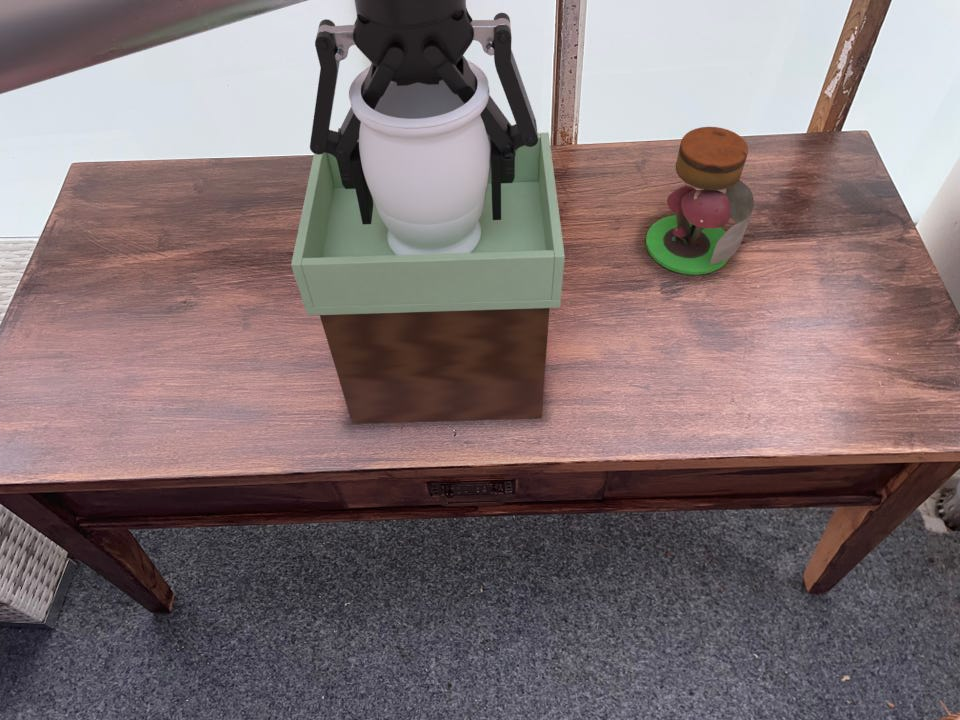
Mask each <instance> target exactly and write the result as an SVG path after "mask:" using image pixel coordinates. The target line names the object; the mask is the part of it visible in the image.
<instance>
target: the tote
mask: <svg viewBox="0 0 960 720" xmlns="http://www.w3.org/2000/svg"><path fill="white" fill-rule="evenodd" d="M537 133H538V143H537V144H536V145H535V146H533V147H527V146H522V147H520V148H518V149H517V150H516V156H515V179H514V181H513V183H502V184H501V220H493V217H492V186H491V167H490V174H489V180H488V185H487V191H486V198H485V203H484V207H483V211H482V213H481V216H480V218H479V220H478V221H479V223H480V226H481V237H480V241H479V243H478V245H477V246H476V248H475V249H474V250H473V251H472V252H471V253H448V254H416V255H396V254H395V253H394V252H393V251H392V250H391V248H390V246H389V244H388V239H387V234H388V228H387V227H386V226H385V224H384V223H383V221H382V219H381V217H380V215H379V213H378V211H377V208H376V206H375V203H374V199H373V197H372V199H373V213H372V222H371V224H362V219H361V214H360V209H359V204H358V199H357V194H356V189H345V188H344V186H343V185H342V181H341V177H340V172H339V168H338V163H337V160H336V158H335V157H334V156H333V155H331V154H329V153H325V152H324V153H323V154H320V155H318V154H314V153H313V157H312V162H311V168H310V170H309V177H308V180H307V186H306V191H305V196H304V201H303V205H302V211H301V215H300V220H299V225H298V230H297V235H296V239H295V244H294V249H293V253H292V258H291V263H290V266H291V270H292V272H293V275H294V276H293V277H294V279H295V282H296V285H297V289H298V292H299V294H300V298H301V301H302V304H303V307H304V309H305V314H306V316H320V315H340V314H373V313H405V312H437V311H469V310H502V309H534V308H550V309H557V308H558V309H560V308H561V302H562V292H563V282H564V269H565V268H564V267H565V258H566V254H565V247H564V241H563V231H562V224H561V218H560V217H561V216H560V209H559V201H558V194H557V193H558V192H557V186H556V178H555V171H554V163H553V155H552V148H551V147H552V146H551V140H550V139H551V138H550V133H549V132H537ZM357 142H359V139H358V141H357Z"/></svg>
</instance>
